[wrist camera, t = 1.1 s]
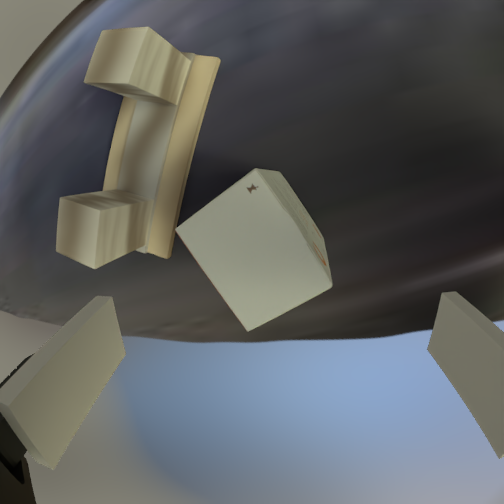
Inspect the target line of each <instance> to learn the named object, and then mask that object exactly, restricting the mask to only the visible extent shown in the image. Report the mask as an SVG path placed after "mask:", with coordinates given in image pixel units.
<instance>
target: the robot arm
mask: <svg viewBox="0 0 504 504" xmlns="http://www.w3.org/2000/svg"><path fill="white" fill-rule="evenodd" d="M427 350H428V351H429V352H430V354H431V355H432V357H433V358H434V359H435V361H436V362H437V364H438V365H439V366H440V368H441V369H442V371H443V372H444V373H445V375H446V376H447V378H448V379H449V381H450V382H451V383H452V385H453V386H454V388H455V389H456V391H457V392H458V394H459V395H460V397H461V398H462V400H463V401H464V403H465V404H466V406H467V407H468V409H469V410H470V412H471V413H472V415H473V417H474V418H475V420H476V421H477V423H478V424H479V426H480V428H481V429H482V431H483V432H484V434H485V436H486V437H487V439H488V441H489V442H490V444H491V446H492V447H493V449H494V451H495V453H496V454H497V456H498V458H499V459H500V458H502V457H504V332H503V331H502V330H500V329H499V328H498V327H497V326H496V325H495V324H494V323H493V322H491V321H490V320H489V319H488V318H487V317H486V316H485V315H483V314H482V313H481V312H480V311H479V310H478V309H476V308H475V307H474V306H473V305H472V304H470V303H469V302H468V301H467V300H466V299H464V298H463V297H462V296H461V295H459V294H458V293H457V292H456V291H455V292H443V293H442V294H441V299H440V303H439V307H438V312H437V316H436V320H435V324H434V327H433V331H432V335H431V339H430V342H429V345H428V349H427ZM125 355H126V352H125V348H124V345H123V341H122V337H121V333H120V329H119V325H118V321H117V316H116V312H115V308H114V303H113V298H112V297H107V296H96V297H95V298H94V299H93V300H91V301H90V302H89V303H88V304H87V305H86V306H85V307H84V308H82V309H81V310H80V311H79V312H78V313H77V314H76V315H75V316H74V317H73V318H71V319H70V320H69V321H68V322H67V323H66V324H65V325H64V326H63V327H62V328H61V329H60V330H59V331H57V332H56V333H55V334H54V335H53V336H52V337H51V338H50V339H49V340H48V341H47V342H46V343H45V344H44V345H43V346H42V347H41V348H40V349H39V350H38V351H37V352H36V353H34V354H32V355H31V356H29V357H27V358H26V359H24V360H23V361H22V362H21V363H20V364H19V365H18V366H17V369H14V370H13V371H12V372H11V374H10V376H8V377H7V378H6V379H5V380H4V381H3V382H2V383H1V384H0V504H36V501H35V497H34V493H33V488H32V483H31V478H30V473H29V467H28V463H27V460H26V458H25V457H24V454H25V453H26V451H28V452H29V453H30V455H31V456H32V457H33V459H34V460H35V461H36V462H38V463H40V464H42V465H44V466H46V467H48V468H50V469H52V470H54V469H55V467H56V465H57V464H58V462H59V460H60V458H61V457H62V455H63V453H64V452H65V450H66V448H67V447H68V445H69V443H70V442H71V440H72V438H73V436H74V435H75V433H76V432H77V430H78V428H79V427H80V425H81V423H82V422H83V420H84V419H85V417H86V415H87V414H88V412H89V410H90V409H91V407H92V406H93V404H94V403H95V401H96V399H97V398H98V396H99V394H100V393H101V392H102V390H103V388H104V387H105V385H106V384H107V382H108V381H109V379H110V378H111V376H112V375H113V373H114V371H115V370H116V368H117V367H118V365H119V364H120V362H121V361H122V359H123V358H124V356H125Z"/></svg>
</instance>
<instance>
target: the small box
mask: <svg viewBox="0 0 504 504" xmlns="http://www.w3.org/2000/svg"><path fill="white" fill-rule="evenodd" d="M175 231H176V233H177V234H178V236H179V237H180V239H181V240H182V241H183V243H184V244H185V246H186V247H187V249H188V250H189V252H190V253H191V254H192V256H193V257H194V259H195V260H196V262H197V263H198V265H199V266H200V267H201V269H202V270H203V272H204V273H205V274H206V276H207V277H208V279H209V280H210V282H211V283H212V284H213V286H214V287H215V288H216V290H217V291H218V293H219V294H220V296H221V297H222V298H223V300H224V301H225V302H226V304H227V305H228V306H229V308H230V309H231V310H232V312H233V313H234V315H235V316H236V317H237V319H238V320H239V321H240V323H241V324H242V325H243V327H244V328H245V329H246V331H250V330H252V329H254V328H256V327H258V326H260V325H262V324H264V323H266V322H268V321H270V320H272V319H274V318H276V317H278V316H280V315H282V314H284V313H285V312H287V311H289V310H291V309H293V308H295V307H297V306H299V305H300V304H302V303H304V302H306V301H308V300H310V299H312V298H313V297H315V296H317V295H319V294H321V293H323V292H324V291H326V290H328V289H330V288H331V287H332V278H331V272H330V268H329V263H328V257H327V252H326V248H325V243H324V238H323V236H322V234H321V232H320V231H319V229H318V228H317V226H316V224H315V223H314V221H313V220H312V218H311V217H310V215H309V214H308V212H307V211H306V209H305V207H304V206H303V204H302V203H301V201H300V200H299V198H298V197H297V195H296V194H295V193H294V191H293V190H292V188H291V187H290V185H289V184H288V182H287V181H286V179H285V178H284V177H283V175H282V174H281V173H280V172H279V171H272V170H265V169H258V168H255V169H253V170H252V171H251V172H249V173H248V174H247V175H245V176H244V177H243V178H241V179H240V180H239V181H237V182H236V183H235V184H233V185H232V186H231V187H229V188H228V189H227V190H225V191H224V192H223V193H221V194H220V195H219V196H217V197H216V198H215V199H213V200H212V201H211V202H210V203H208V204H207V205H206V206H204V207H203V208H202V209H200V210H199V211H198V212H196V213H195V214H194V215H193V216H191V217H190V218H189V219H187V220H186V221H185V222H184V223H182V224H181V225H180V226H178V227H177V228H176V229H175Z"/></svg>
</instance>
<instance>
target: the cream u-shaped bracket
mask: <svg viewBox="0 0 504 504" xmlns="http://www.w3.org/2000/svg"><path fill="white" fill-rule="evenodd" d="M220 61H221V60H220V59H219V58H218V57H210V56H200V55H195V54H194V53H184V52H179V51H178V50H177V49H176V48H174V47H173V46H172V45H171V44H170V43H168V42H167V41H166V40H165V39H163V38H162V37H161V36H160V35H158V34H157V33H156V32H155V31H153V30H152V29H151V28H150V27H136V28H123V29H112V30H103V31H102V32H101V35H100V37H99V40H98V42H97V45H96V47H95V50H94V53H93V56H92V58H91V61H90V64H89V67H88V70H87V73H86V76H85V79H84V83H86V84H89V85H93V86H96V87H99V88H102V89H105V90H108V91H111V92H114V93H117V94H120V95H123V96H124V97H123V101H122V104H121V108H120V112H119V116H118V119H117V123H116V127H115V131H114V136H113V140H112V144H111V149H110V154H109V159H108V164H107V169H106V174H105V180H104V186H103V191H99V192H92V193H84V194H78V195H71V196H65V197H60V201H59V212H58V224H57V241H56V251H57V252H59V253H61V254H63V255H65V256H67V257H69V258H71V259H74V260H76V261H78V262H80V263H82V264H84V265H86V266H89V267H91V268H93V269H96V268H98V267H100V266H102V265H104V264H106V263H108V262H110V261H113V260H115V259H117V258H119V257H121V256H123V255H125V254H127V253H130V252H132V251H134V250H137V251H139V252H142V253H147V252H149V253H151V254H154V255H157V256H160V257H162V258H165V259H168V258H170V257H171V253H172V248H173V242H174V237H175V232H176V231H175V229H176V227H177V223H178V218H179V213H180V208H181V204H182V199H183V195H184V191H185V186H186V182H187V178H188V174H189V170H190V166H191V162H192V158H193V154H194V150H195V146H196V142H197V138H198V135H199V131H200V127H201V124H202V120H203V117H204V113H205V110H206V106H207V103H208V100H209V96H210V93H211V90H212V86H213V83H214V80H215V77H216V74H217V71H218V68H219V65H220Z"/></svg>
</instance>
